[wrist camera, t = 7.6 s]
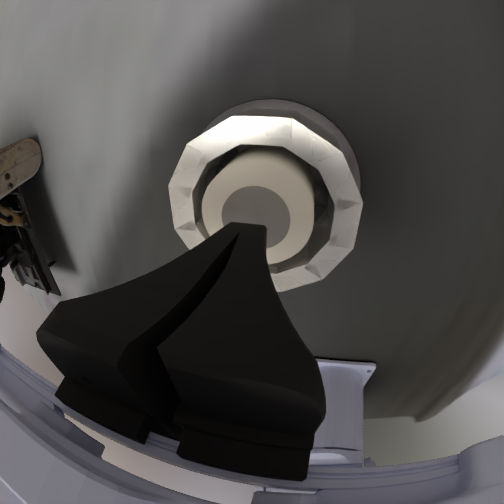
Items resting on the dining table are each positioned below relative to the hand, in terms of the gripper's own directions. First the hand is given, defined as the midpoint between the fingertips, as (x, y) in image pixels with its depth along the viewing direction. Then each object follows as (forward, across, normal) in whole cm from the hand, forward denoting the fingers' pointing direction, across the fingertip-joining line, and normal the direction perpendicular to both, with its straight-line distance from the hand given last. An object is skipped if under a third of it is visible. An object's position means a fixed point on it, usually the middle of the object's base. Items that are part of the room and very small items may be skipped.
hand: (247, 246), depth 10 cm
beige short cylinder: (+6, 0, 0) cm, 6 cm away
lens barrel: (+7, 0, 0) cm, 7 cm away
